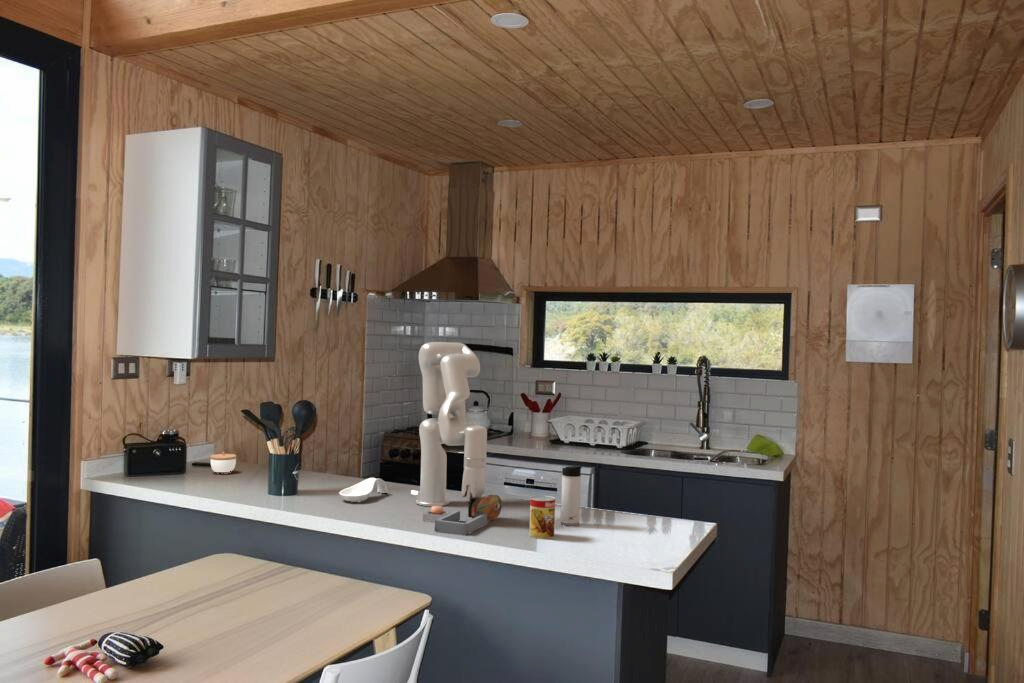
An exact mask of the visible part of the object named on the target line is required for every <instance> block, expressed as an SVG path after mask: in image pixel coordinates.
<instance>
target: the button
mask: <svg viewBox="0 0 1024 683" xmlns="http://www.w3.org/2000/svg"><path fill="white" fill-rule="evenodd" d="M430 510H431V514H439V515H441V514H443V511H444V507H443V506H430Z"/></svg>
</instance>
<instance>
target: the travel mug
mask: <svg viewBox="0 0 1024 683" xmlns="http://www.w3.org/2000/svg"><path fill="white" fill-rule="evenodd" d="M582 467H583V466H582V465H572V466H565V467H562V474H561V502H560V504H561V506H560V510H561V511H560V525H561V526H563V525H564V526H563V527H568V526H575V527H579V526H580V519H581V518H580V515H581V514H580V512H581V509H580V508H581V482H582V481H581V476H582V474H581V472H582V469H583V468H582Z"/></svg>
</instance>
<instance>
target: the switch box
mask: <svg viewBox="0 0 1024 683" xmlns="http://www.w3.org/2000/svg"><path fill="white" fill-rule="evenodd" d="M450 513H452V512H451V511H448V510H443V514H441V515H439V514H431V509H430V510H428V511H426V512H423V513H422V521H423V520H425V521H424V522H428V521H432V522H431V523H435V520H437V519H439V518H442V517H444V516H446V515H448V514H450Z"/></svg>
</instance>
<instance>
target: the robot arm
mask: <svg viewBox="0 0 1024 683" xmlns="http://www.w3.org/2000/svg"><path fill="white" fill-rule="evenodd" d="M418 364H419V367H420V372H421V376H422V405H423V410H424V412H425V413H426V414H427V415H428V414H429V415H438V417H432V418H426V419H424V420H423V421H422V422H421V423H420V424H419V428H418V431H419V439H420V454H421V455H420V484H419V485H420V486H419V487H420V488H419V489H420V490H416V489H414V490H413V489H412V490H411V491H410V495H411V497H416V499H415V504H417V505H418V504H419V506H424V507H432V506H442V507H443V506H447V505H449V504H450V503H451V500H450V499H449V498H447V496H446V495H447V468H448V467H447V465H448V464H447V463H448V461H447V460H448V459H447V458H448V457H447V452H446V451H445V449H444V448H443V446H442V445H443V444H445V445H446V446H452V447H453V446H464V448H463V449H464V450H463V454H464V455H463V474H462V481H461V482H462V483H461V497H462V498H465V497H466V499H465V502H466V503H467V505H468V509H467V510H468V513H467V517H468V518H471V519H472V514H471V511H472V505H473V502H474V501H475V500H476V499H477V498H480V497H483V494H485V490H486V471H485V470H486V468H487V446H488V445H487V442H488V430H487V428H486V427H485V426H482V425H479V424H477V423H472V422H471V423H470V422H466V420H467V419H466V400H467V399H468V398H469V397H470V396H471V395H470V394H471V392H470V386H469V383H468V378H475V377H477V376H478V375H479V374H480V371H481V364H480V360H479V359H478V356H477V355H476V354H475V353H474V352H473V351H472V349H470V348H469V347H468V346H467V345H466V344H465V343H462V342H446V341H444V342H443V341H433V342H432V341H431V342H426V343H424V344H422V345H421V347H420V349H419V351H418Z"/></svg>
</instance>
